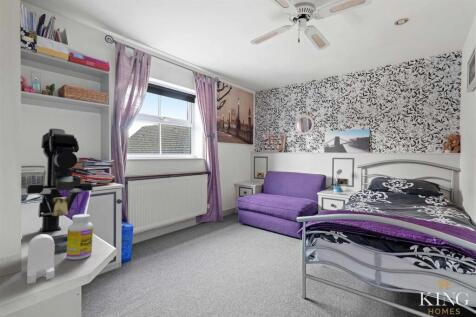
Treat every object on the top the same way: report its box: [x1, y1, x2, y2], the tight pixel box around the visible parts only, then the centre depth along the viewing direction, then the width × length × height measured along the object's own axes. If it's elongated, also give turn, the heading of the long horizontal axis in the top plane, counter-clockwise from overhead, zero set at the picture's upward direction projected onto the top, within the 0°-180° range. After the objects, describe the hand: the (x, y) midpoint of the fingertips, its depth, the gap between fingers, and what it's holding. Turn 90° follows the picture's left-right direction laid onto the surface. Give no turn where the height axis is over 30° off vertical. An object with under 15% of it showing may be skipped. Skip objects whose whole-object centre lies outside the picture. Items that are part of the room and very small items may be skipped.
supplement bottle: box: [66, 213, 94, 261], centre depth 75 cm, size 7×7×13 cm
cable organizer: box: [26, 233, 55, 285], centre depth 63 cm, size 5×10×10 cm, turn 42°
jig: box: [50, 233, 68, 254], centre depth 84 cm, size 14×9×2 cm, turn 46°
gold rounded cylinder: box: [52, 196, 69, 217], centre depth 86 cm, size 4×4×6 cm
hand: (60, 211), depth 85 cm, fingers closed on gold rounded cylinder, 4 cm apart
